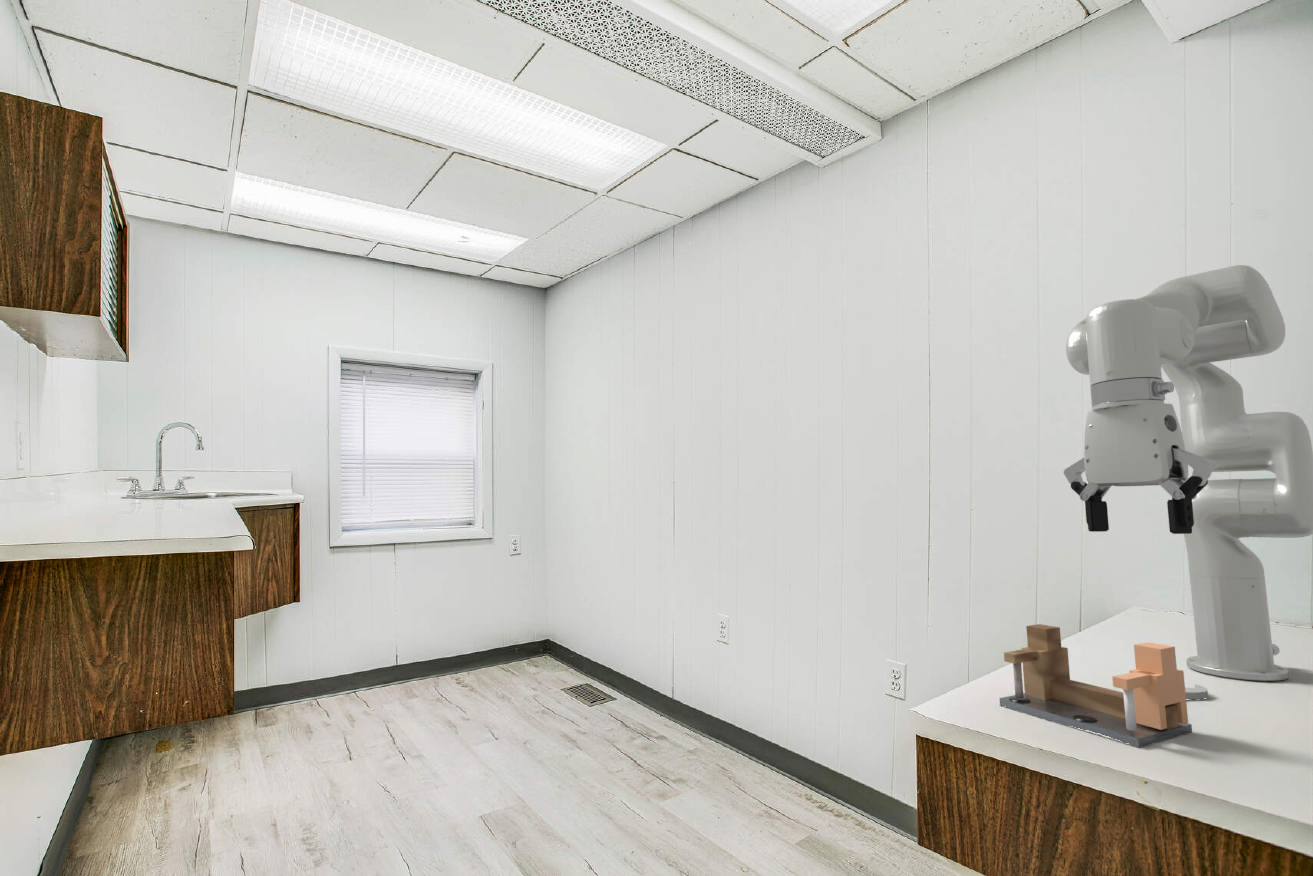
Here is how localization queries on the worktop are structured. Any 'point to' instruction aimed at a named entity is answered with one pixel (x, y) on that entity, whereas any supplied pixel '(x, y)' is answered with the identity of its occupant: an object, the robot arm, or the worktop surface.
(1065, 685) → the trammel bar
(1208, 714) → the worktop surface
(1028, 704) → the flange plate
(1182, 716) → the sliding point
